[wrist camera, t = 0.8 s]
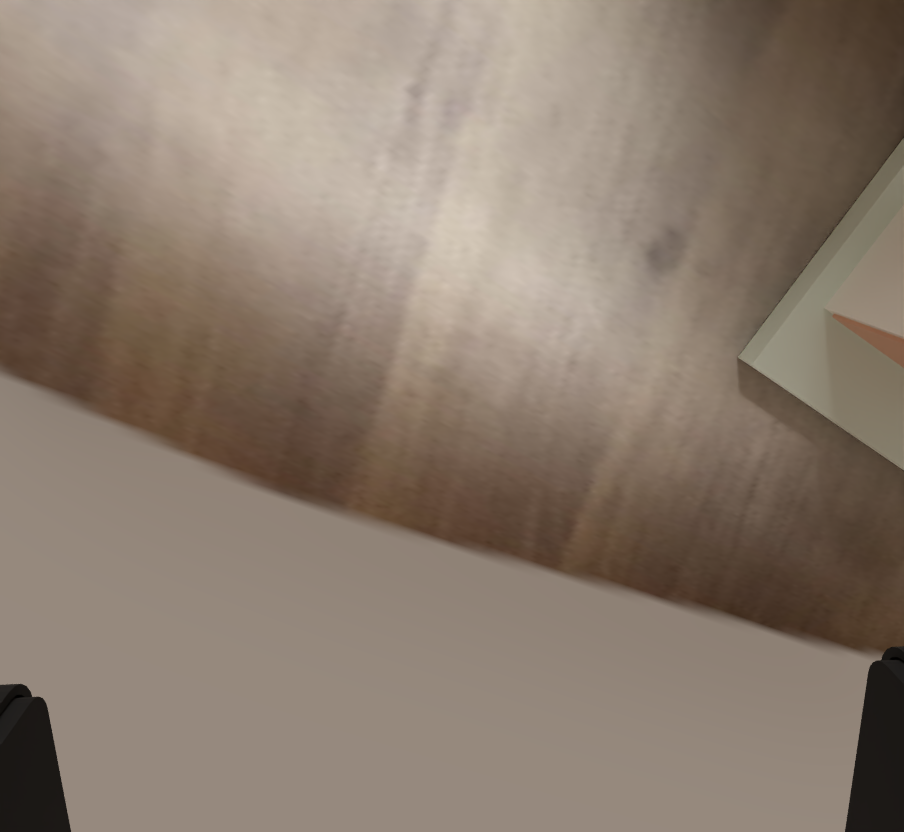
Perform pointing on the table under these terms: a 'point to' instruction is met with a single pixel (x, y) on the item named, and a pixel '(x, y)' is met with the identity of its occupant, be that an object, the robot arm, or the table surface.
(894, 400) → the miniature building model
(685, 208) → the table surface
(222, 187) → the table surface
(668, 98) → the table surface
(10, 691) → the robot arm
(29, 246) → the table surface
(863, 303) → the carton
